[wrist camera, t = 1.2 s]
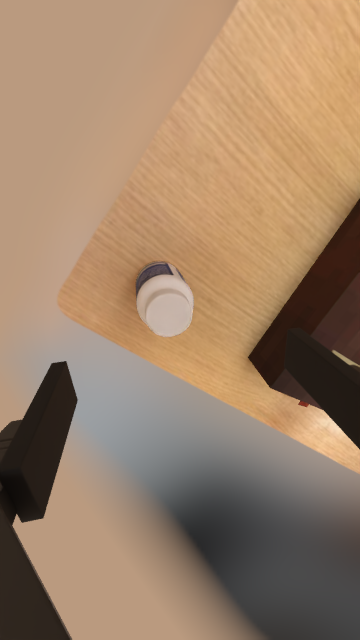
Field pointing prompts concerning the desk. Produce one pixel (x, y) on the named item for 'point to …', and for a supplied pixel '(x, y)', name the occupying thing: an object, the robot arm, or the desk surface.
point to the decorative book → (318, 311)
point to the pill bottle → (164, 299)
